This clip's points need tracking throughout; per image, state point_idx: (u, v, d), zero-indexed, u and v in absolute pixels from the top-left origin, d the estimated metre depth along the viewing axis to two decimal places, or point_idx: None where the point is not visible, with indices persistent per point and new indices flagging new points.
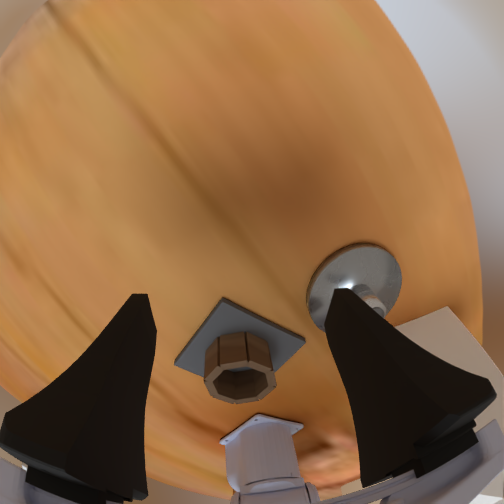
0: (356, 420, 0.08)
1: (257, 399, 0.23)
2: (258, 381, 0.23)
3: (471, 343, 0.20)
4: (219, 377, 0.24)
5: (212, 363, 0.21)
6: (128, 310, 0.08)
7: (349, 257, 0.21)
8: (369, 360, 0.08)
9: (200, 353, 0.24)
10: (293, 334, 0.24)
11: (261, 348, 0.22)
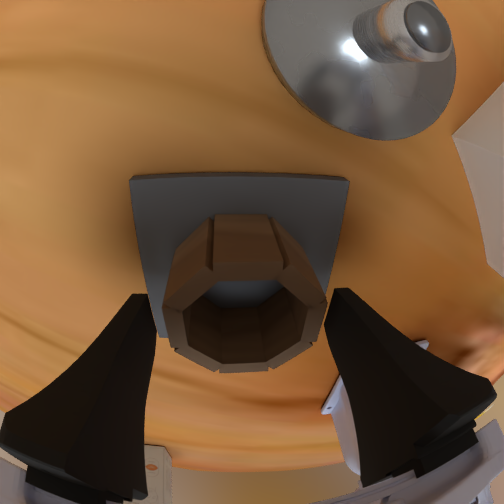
0: (356, 420, 0.08)
1: (309, 345, 0.11)
2: (295, 305, 0.11)
3: None
4: (224, 328, 0.13)
5: None
6: (128, 310, 0.08)
7: None
8: (369, 360, 0.08)
9: None
10: (314, 176, 0.11)
11: (251, 230, 0.10)
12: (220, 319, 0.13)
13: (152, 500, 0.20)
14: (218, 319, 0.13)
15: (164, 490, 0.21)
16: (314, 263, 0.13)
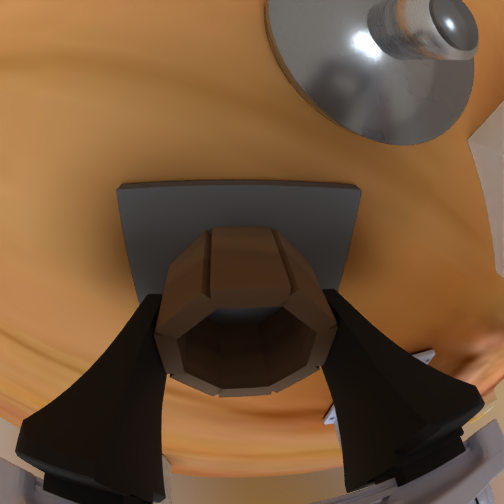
0: (340, 424, 0.08)
1: (316, 368, 0.10)
2: (301, 326, 0.10)
3: None
4: (224, 349, 0.12)
5: None
6: (145, 310, 0.08)
7: None
8: (352, 363, 0.08)
9: None
10: (323, 184, 0.10)
11: (254, 246, 0.09)
12: (219, 338, 0.12)
13: None
14: (217, 338, 0.12)
15: None
16: (321, 278, 0.12)
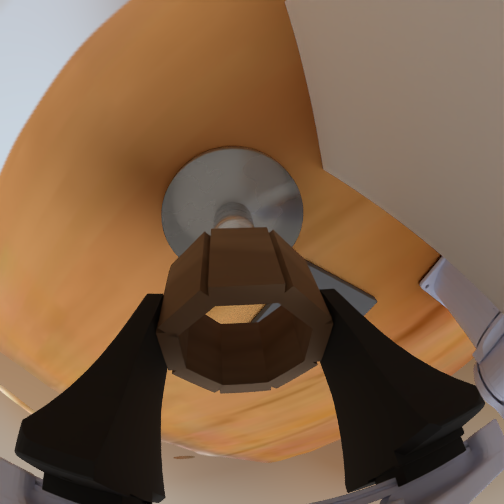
0: (341, 424, 0.08)
1: (314, 364, 0.10)
2: (298, 323, 0.11)
3: None
4: (224, 346, 0.12)
5: None
6: (145, 310, 0.08)
7: (178, 247, 0.18)
8: (352, 363, 0.08)
9: None
10: None
11: (250, 246, 0.09)
12: (220, 336, 0.12)
13: None
14: (218, 336, 0.12)
15: None
16: None
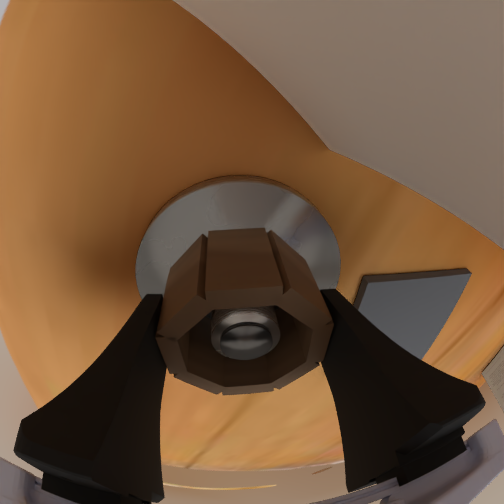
0: (341, 423, 0.08)
1: (316, 364, 0.10)
2: (299, 323, 0.11)
3: None
4: None
5: None
6: (144, 310, 0.08)
7: None
8: (353, 363, 0.08)
9: None
10: (358, 300, 0.14)
11: (248, 248, 0.09)
12: None
13: None
14: None
15: None
16: (419, 291, 0.14)
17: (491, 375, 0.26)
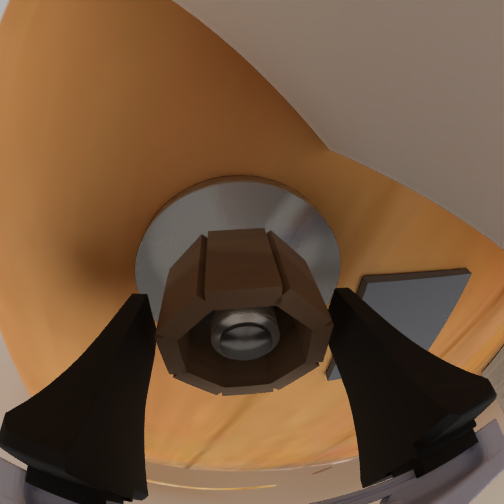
0: (356, 420, 0.08)
1: (315, 365, 0.10)
2: (299, 324, 0.10)
3: None
4: None
5: None
6: (128, 310, 0.08)
7: None
8: (369, 360, 0.08)
9: None
10: None
11: (248, 248, 0.09)
12: None
13: None
14: None
15: None
16: (419, 291, 0.14)
17: (491, 375, 0.26)
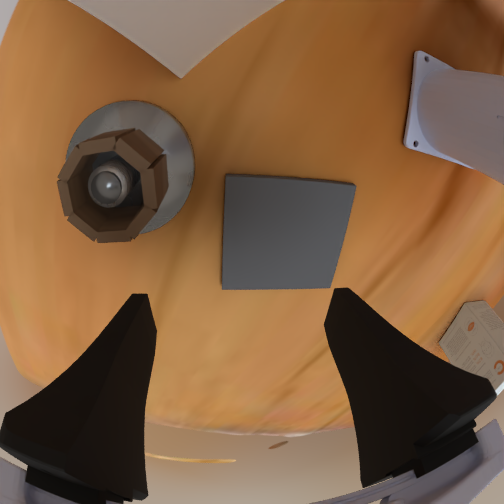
0: (356, 420, 0.08)
1: (155, 213, 0.14)
2: None
3: None
4: (111, 216, 0.15)
5: None
6: (128, 310, 0.08)
7: None
8: (369, 360, 0.08)
9: (300, 275, 0.22)
10: None
11: (115, 132, 0.13)
12: (111, 211, 0.16)
13: (489, 350, 0.23)
14: (109, 211, 0.16)
15: (490, 332, 0.23)
16: (287, 193, 0.18)
17: (449, 344, 0.30)
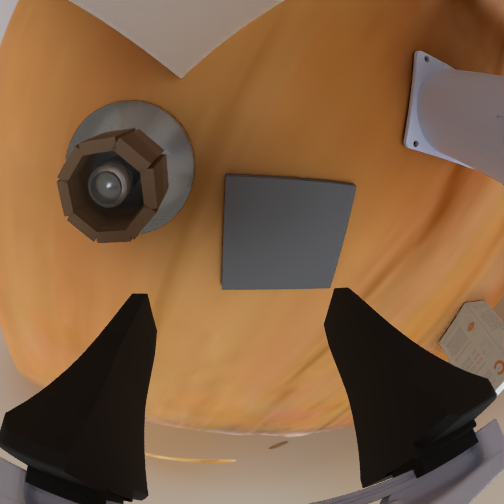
0: (356, 420, 0.08)
1: (155, 213, 0.14)
2: None
3: None
4: (111, 216, 0.15)
5: None
6: (128, 310, 0.08)
7: None
8: (369, 360, 0.08)
9: (300, 275, 0.22)
10: None
11: (115, 132, 0.13)
12: (111, 211, 0.16)
13: (489, 350, 0.23)
14: (109, 211, 0.16)
15: (490, 332, 0.23)
16: (287, 193, 0.18)
17: (449, 344, 0.30)
